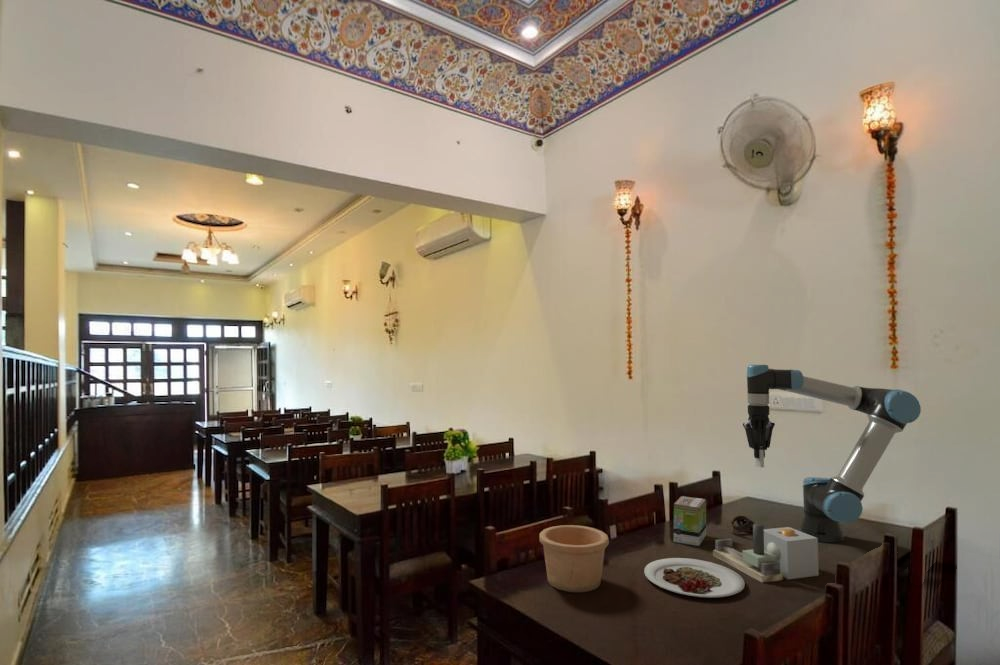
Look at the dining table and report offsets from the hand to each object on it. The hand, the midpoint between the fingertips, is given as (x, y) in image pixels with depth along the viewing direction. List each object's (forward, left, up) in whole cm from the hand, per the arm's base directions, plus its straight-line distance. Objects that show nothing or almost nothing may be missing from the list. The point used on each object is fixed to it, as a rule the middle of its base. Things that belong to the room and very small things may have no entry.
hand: (759, 466), depth 205 cm
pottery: (+82, +13, -30) cm, 88 cm away
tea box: (+22, -13, -30) cm, 39 cm away
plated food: (+45, +22, -30) cm, 58 cm away
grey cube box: (+9, +23, -29) cm, 38 cm away
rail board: (+21, +17, -29) cm, 40 cm away
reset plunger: (+9, +23, -25) cm, 35 cm away
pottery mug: (-3, -14, -30) cm, 33 cm away
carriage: (+21, +23, -26) cm, 40 cm away
